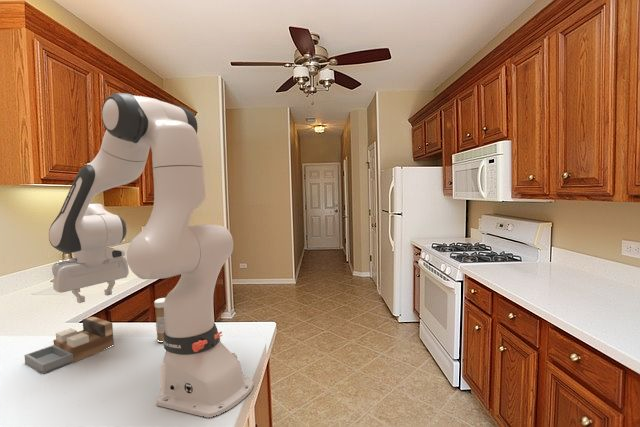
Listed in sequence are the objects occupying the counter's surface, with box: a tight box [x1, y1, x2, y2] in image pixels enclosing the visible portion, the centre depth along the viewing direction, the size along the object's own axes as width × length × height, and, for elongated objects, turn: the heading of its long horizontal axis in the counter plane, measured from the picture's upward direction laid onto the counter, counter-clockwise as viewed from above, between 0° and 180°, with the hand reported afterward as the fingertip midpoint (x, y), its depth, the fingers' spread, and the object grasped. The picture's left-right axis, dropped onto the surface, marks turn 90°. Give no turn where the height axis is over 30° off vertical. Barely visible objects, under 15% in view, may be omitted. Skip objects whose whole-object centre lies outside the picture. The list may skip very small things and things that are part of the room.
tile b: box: [55, 328, 78, 342], centre depth 101 cm, size 4×4×2 cm
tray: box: [24, 344, 75, 375], centre depth 94 cm, size 12×7×2 cm, turn 59°
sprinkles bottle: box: [153, 297, 166, 341], centre depth 106 cm, size 5×5×13 cm
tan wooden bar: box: [82, 316, 114, 337], centre depth 105 cm, size 12×3×4 cm, turn 59°
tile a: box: [67, 333, 89, 347], centre depth 97 cm, size 4×4×2 cm
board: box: [53, 329, 115, 363], centre depth 102 cm, size 12×11×4 cm
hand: (95, 298), depth 104 cm, fingers open, 6 cm apart
